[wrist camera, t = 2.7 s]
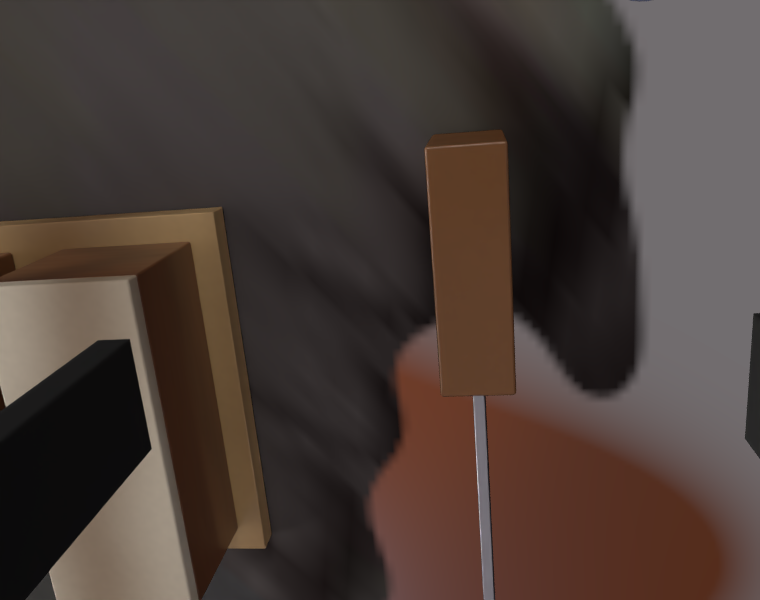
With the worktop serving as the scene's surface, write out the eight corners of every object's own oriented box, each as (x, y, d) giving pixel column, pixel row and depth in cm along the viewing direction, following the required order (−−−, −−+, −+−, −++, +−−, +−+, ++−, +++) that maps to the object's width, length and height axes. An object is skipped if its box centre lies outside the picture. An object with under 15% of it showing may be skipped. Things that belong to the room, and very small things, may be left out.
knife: (431, 134, 25) (423, 146, 21) (502, 129, 25) (507, 140, 21) (466, 672, 32) (464, 754, 28) (522, 673, 31) (528, 756, 28)
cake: (222, 206, 27) (154, 244, 21) (272, 534, 31) (226, 640, 25) (-119, 229, 29) (-265, 269, 23) (-29, 533, 33) (-135, 631, 27)
